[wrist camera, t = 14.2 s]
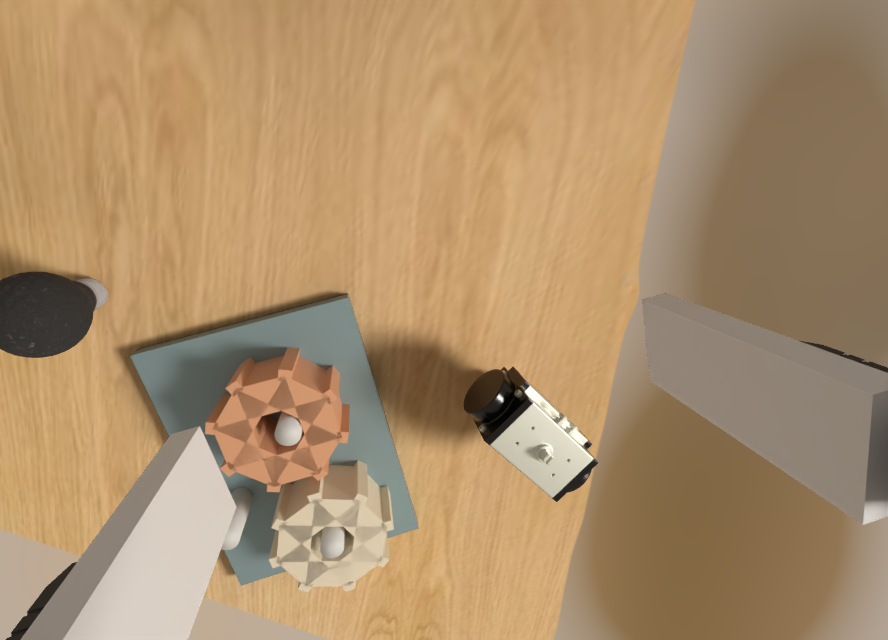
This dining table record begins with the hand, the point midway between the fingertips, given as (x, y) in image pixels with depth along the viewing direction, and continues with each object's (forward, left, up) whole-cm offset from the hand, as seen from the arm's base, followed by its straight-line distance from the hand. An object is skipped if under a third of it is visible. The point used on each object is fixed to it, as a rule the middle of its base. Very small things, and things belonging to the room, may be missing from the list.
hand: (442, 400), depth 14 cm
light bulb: (-3, -23, -29) cm, 37 cm away
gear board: (+15, -13, -29) cm, 35 cm away
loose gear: (+10, -12, -27) cm, 31 cm away
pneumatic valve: (+16, +8, -29) cm, 34 cm away
